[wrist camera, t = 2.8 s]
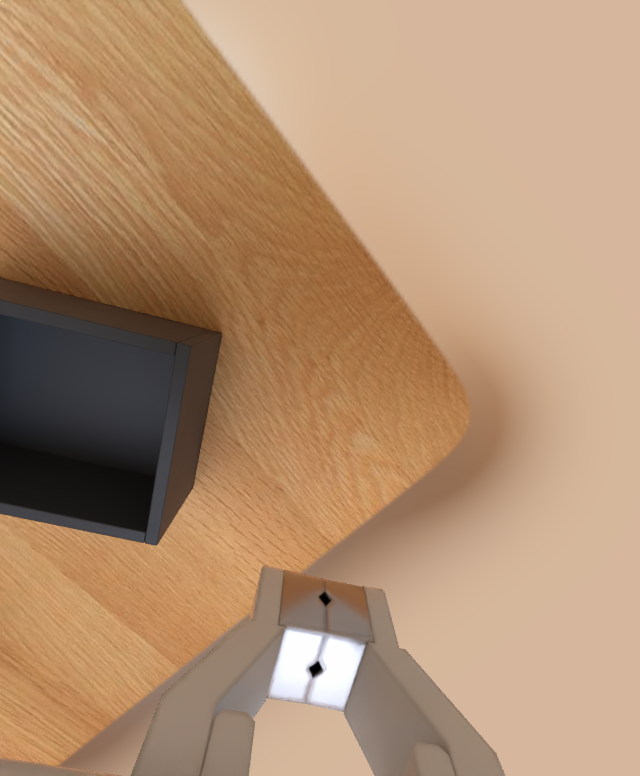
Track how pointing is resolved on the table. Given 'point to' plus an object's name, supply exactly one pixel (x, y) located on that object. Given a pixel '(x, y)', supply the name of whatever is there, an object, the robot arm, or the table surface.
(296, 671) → the robot arm
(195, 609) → the table surface
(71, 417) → the basket
